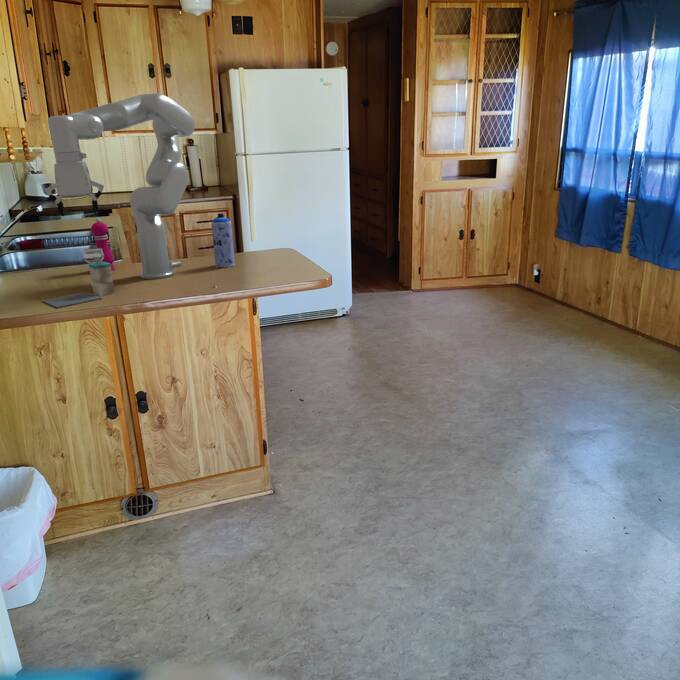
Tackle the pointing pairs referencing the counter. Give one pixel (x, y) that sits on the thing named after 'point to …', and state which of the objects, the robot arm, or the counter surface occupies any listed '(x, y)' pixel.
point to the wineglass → (93, 255)
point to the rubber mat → (71, 299)
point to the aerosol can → (223, 241)
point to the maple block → (102, 278)
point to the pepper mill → (102, 241)
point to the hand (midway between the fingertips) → (79, 214)
